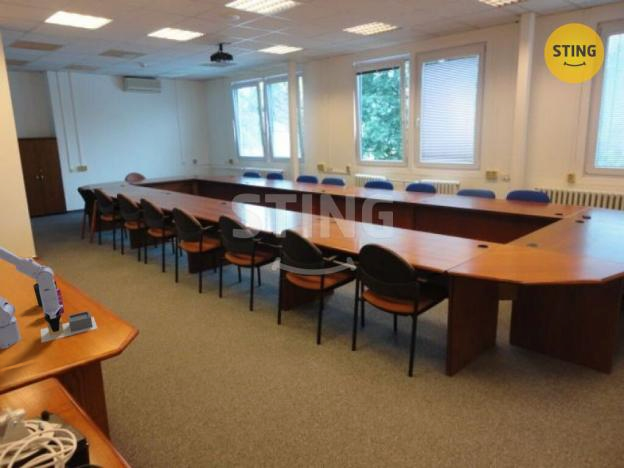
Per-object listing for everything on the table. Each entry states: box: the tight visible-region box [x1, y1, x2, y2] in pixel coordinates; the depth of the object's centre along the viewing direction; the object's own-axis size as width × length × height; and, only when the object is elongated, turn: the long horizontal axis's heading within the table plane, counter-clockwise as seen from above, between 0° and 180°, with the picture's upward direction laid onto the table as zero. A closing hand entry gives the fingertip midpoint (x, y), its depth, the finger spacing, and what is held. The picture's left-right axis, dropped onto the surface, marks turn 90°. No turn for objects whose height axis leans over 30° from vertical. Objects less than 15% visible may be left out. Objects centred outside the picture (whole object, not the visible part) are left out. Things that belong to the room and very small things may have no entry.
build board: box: [40, 316, 98, 344], centre depth 182 cm, size 20×14×1 cm
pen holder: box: [32, 280, 58, 307], centre depth 211 cm, size 9×9×10 cm
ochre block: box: [46, 317, 64, 336], centre depth 179 cm, size 5×5×5 cm
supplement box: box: [43, 288, 65, 318], centre depth 198 cm, size 6×6×12 cm
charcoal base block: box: [67, 310, 93, 332], centre depth 183 cm, size 8×8×4 cm
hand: (55, 328), depth 179 cm, fingers closed on ochre block, 5 cm apart
